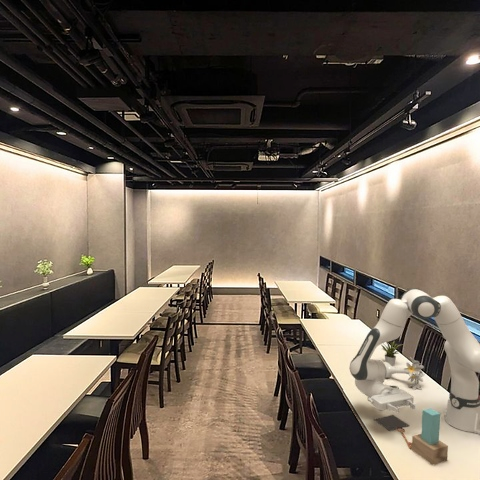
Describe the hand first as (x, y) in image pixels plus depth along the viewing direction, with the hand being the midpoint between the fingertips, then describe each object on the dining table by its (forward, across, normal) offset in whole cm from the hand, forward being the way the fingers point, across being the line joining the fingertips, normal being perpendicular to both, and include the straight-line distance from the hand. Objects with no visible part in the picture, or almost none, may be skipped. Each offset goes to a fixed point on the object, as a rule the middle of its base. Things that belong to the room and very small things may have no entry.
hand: (406, 409), depth 160 cm
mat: (-12, +4, +13) cm, 18 cm away
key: (0, +1, +13) cm, 13 cm away
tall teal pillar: (+12, 0, +7) cm, 14 cm away
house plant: (-68, +60, +13) cm, 92 cm away
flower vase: (-45, +44, +13) cm, 64 cm away
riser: (+12, 0, +13) cm, 18 cm away
